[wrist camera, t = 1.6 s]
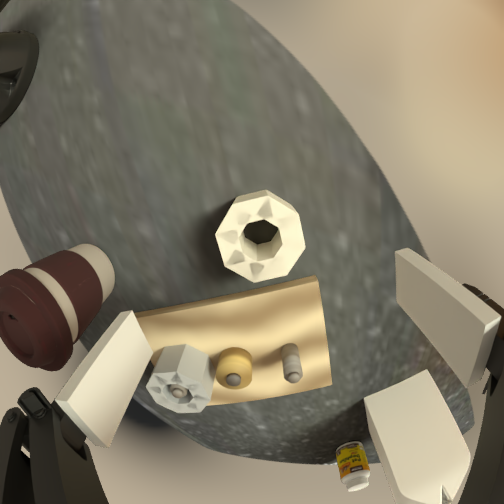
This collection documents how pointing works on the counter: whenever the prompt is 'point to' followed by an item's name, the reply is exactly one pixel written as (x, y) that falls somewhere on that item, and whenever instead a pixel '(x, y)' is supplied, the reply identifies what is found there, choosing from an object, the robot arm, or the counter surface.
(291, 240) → the white octagonal block
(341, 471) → the supplement bottle
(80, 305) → the coffee cup
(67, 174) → the counter surface
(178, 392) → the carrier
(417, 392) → the milk
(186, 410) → the seated gear
